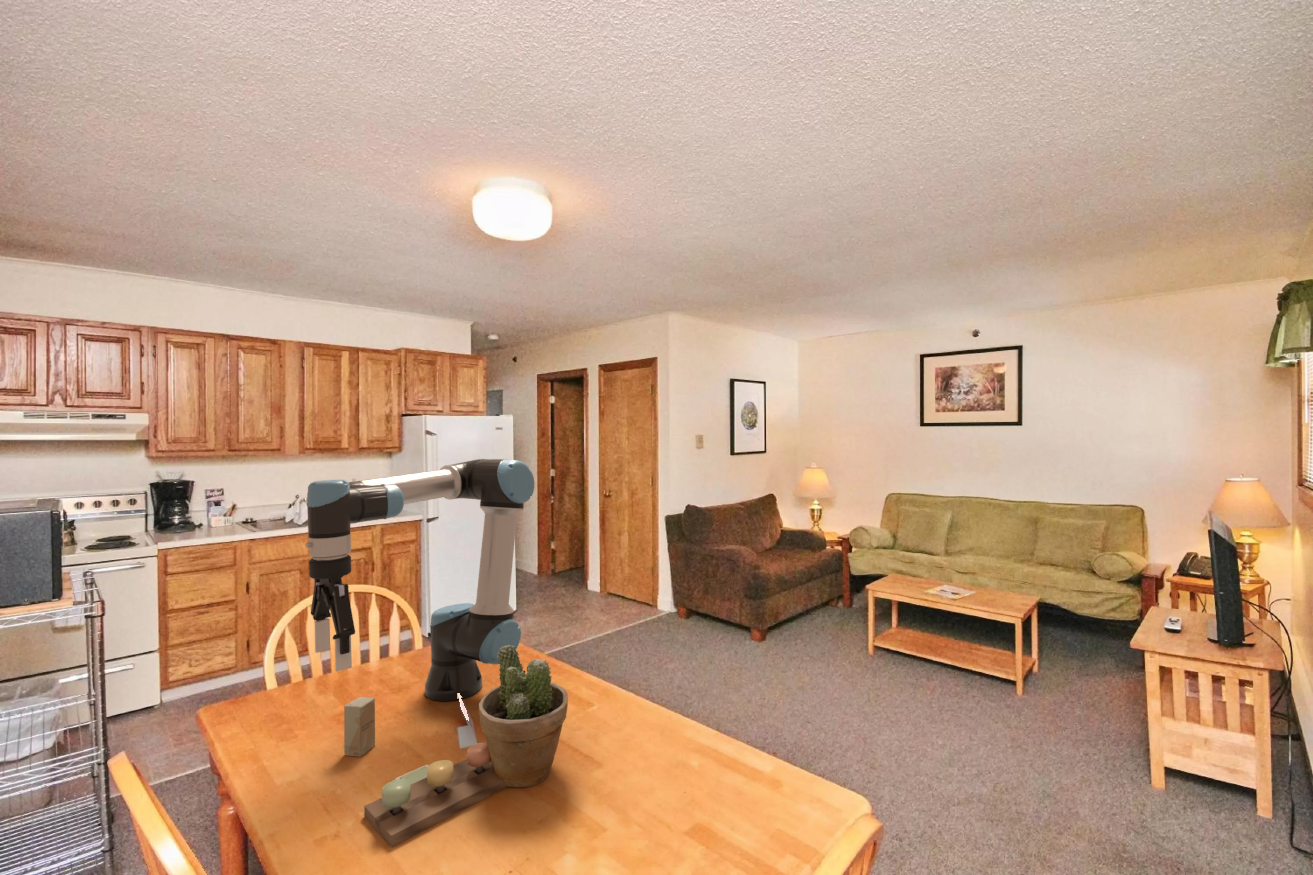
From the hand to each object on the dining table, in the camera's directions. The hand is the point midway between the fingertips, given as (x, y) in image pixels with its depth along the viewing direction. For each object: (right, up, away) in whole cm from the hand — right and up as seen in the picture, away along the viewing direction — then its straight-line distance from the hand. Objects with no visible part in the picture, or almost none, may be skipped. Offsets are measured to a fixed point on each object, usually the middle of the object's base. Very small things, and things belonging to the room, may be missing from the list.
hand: (332, 659), depth 119 cm
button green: (+18, -24, -12) cm, 32 cm away
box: (-1, -26, +13) cm, 29 cm away
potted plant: (+38, -25, +3) cm, 46 cm away
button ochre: (+24, -23, -5) cm, 34 cm away
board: (+24, -25, -5) cm, 35 cm away
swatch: (+17, -25, +1) cm, 31 cm away
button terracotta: (+30, -23, +1) cm, 38 cm away
